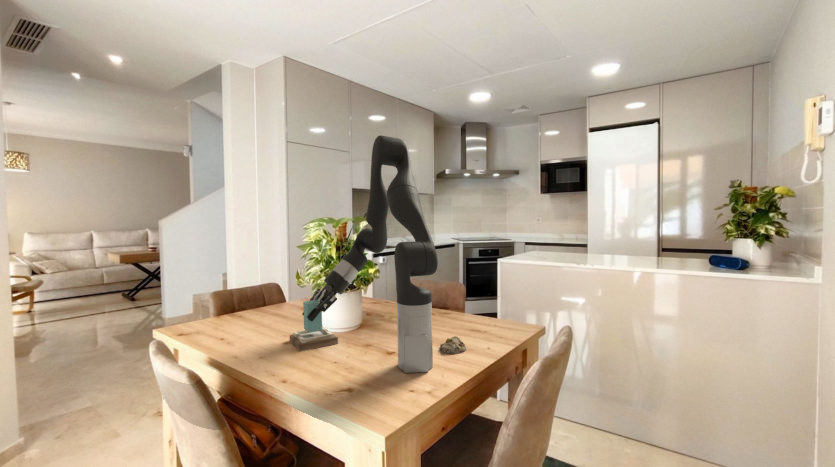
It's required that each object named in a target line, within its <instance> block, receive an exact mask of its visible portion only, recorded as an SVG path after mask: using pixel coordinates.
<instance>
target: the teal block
mask: <svg viewBox="0 0 835 467" xmlns="http://www.w3.org/2000/svg"><path fill="white" fill-rule="evenodd" d="M302 303H303V308H302V310H303V312H304V316H303V330H306V331H307V332H314V331H319V330H322V327H323V315H322V314H323V311H322V312H321V313H319V314H318V315H317V317H316V318H315V319H314V320H313V321H310V320H309V319H307V316H308V315H309V314H310V312H311V311H312V310H313V309H314V308H315V306H316V305H317V304H318V300H311V301H309V300H305V301H303V302H302ZM315 309H316V308H315Z"/></svg>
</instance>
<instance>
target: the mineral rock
mask: <svg viewBox="0 0 835 467" xmlns="http://www.w3.org/2000/svg"><path fill="white" fill-rule="evenodd" d="M439 349H440V352H443V353H447V354H451V353H452V354H454V355H455V354H456V355H457V354H461V353H464V352H466V350H467V347H466V344H465V343H464V342H463V341H462V340H461V338H460V337H458V336H455V335H454V336H452V337H449V338H447V339H446V340H445V342H444V343H441V344H440V345H439Z"/></svg>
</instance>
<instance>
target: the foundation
mask: <svg viewBox="0 0 835 467" xmlns="http://www.w3.org/2000/svg"><path fill="white" fill-rule="evenodd" d="M289 342H290V343H291V344H292V345H293V347H295V348H296V349H297V350H298V351H299V352H304V351H308V350H312V349H313V350H314V349H317V348H323V347H328V346H333V345H338V344H339V337H337V336H336V335H335V334H334V333H332V331H329V330H328V329H327V328H325V327H323V326H322V330H319V331H314V332H307V331H306V330H305V329H303V330H298V331H293V333H292V334H289Z"/></svg>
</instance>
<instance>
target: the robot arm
mask: <svg viewBox="0 0 835 467" xmlns="http://www.w3.org/2000/svg"><path fill="white" fill-rule="evenodd" d="M372 144H373V145H372V149H371V160H370V161H371V166H370V178H369V179H370V185H369V186H370V187H369V198H368V203H367V211H366V216H365V221H366V223H367V224H368V225H370V227H371V228H370V227H369V228H368V227H366V228H364V229H362V230H361V231H359V233H358V234H357V236H356V238H355V240H354V242H353V244H352V246H351V247H350V249H349V252H348V253H347V254H346V255H345V256H344V257H343V259H342V260H341V261H340V262H338V263H337V264H336V265H335V267H333V269H332V270H331V271H330V272H329V274H328V275H327V276H326V277H325V278H324V279H323V281H324V283H325V284H327V285H324V286H323V287H322V288H320V289H321V290H320V289H318V288H317V289H316V291H314V294H312V296H311V297H310V298H309V300H308V301H311V300H318V304H317V305H316V306H315V308H316V309H315V308H314V309H313V310H312V311H311V312H310V314H309V315H308V316H307V319H309V320H310V321H313V320H314V319H315V318H316V317H317V315H318V314H319V313H321V312H322V313H325V312H326V311H327V310H328V309H329V308H330V307H331V306H332V305H334V303H335V302H336V301H337V300H338V297H336V295H337V294H338V295H342V294H343V293H344V292H345V291H346V289H348V287H350V286H349V285H351V283H352V282H353V281H354V280H355V279H356V277H357V275H358V274H359V273H358V272H360V271H361V270H362V269H363V268H364V267H365V265H366V264H367V262H368V257H367V256H366V254H364V253H365V250H368V251H370V252H371V253H375V254H380V253H382V252H383V251H384V250H385V249H386V246H387V243H388V228H387V218H388V214H389V211H390V213H391V215H392V216H393V217H394V219H396V221H397V222H398V223H399V224H400V225H402V226H403V227H404V228H405V229H406V230H407V231H408V232H409V233H410V234H411V236H412V237H413V239H414V241H401V242H398V243H396V246H395V248H394V255H393V256H394V268H395V269H394V270H395V284H396V287H395V289H396V315H397V316H396V320H397V321H396V324H397V325H396V326H397V358H398V359H397V363H398V364H397V366H398V369H400V371H401V370H402V371H403V373H406V374H407V373H428V372H429V370H431V369H432V368H433V365H434V364H433V363H434V362H433V360H434V359H433V358H434V357H433V351H434V350H433V315H432V314H433V309H432V308H433V306H432V301H433V299H432V297H433V295H432V291H431V290H429V289H428V288H427V289H426V288H424V287H421V286H417V285H415V284H414V283H413V282H412V281H411V277H412V278H413V277H425V276H426V277H427V276H432V275H434V274H435V273H436V272H437V270H438V266H439V265H438V264H439V260H438V254H437V250H436V246H435V244H434V241H433V239H432V238H433V237H432V236H431V234H430V231H429V228H428V225H427V223H426V219H425V215H424V212H423V207H422V204H421V200H420V195H419V193H418V192H419V191H418V189H417V186H416V183H415V179H414V175H413V170H412V165H411V158H410V152H409V147H408V144H407V142H406V141H405V140H404V139H402V138H398V137H392V136H386V135H378V136H377V137H376V138H375V139H374V142H373V143H372ZM382 166H389V167H394V168H396V170H397V172H396V175H395V177H393V179H392V181H391V182H390V184H389V185H388V187H387V189H386V187H385V184H384V181H383V177H382V168H383V167H382ZM357 273H358V274H357ZM301 315H302V316H303V317H304V311H303V312H302V314H301Z"/></svg>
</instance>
